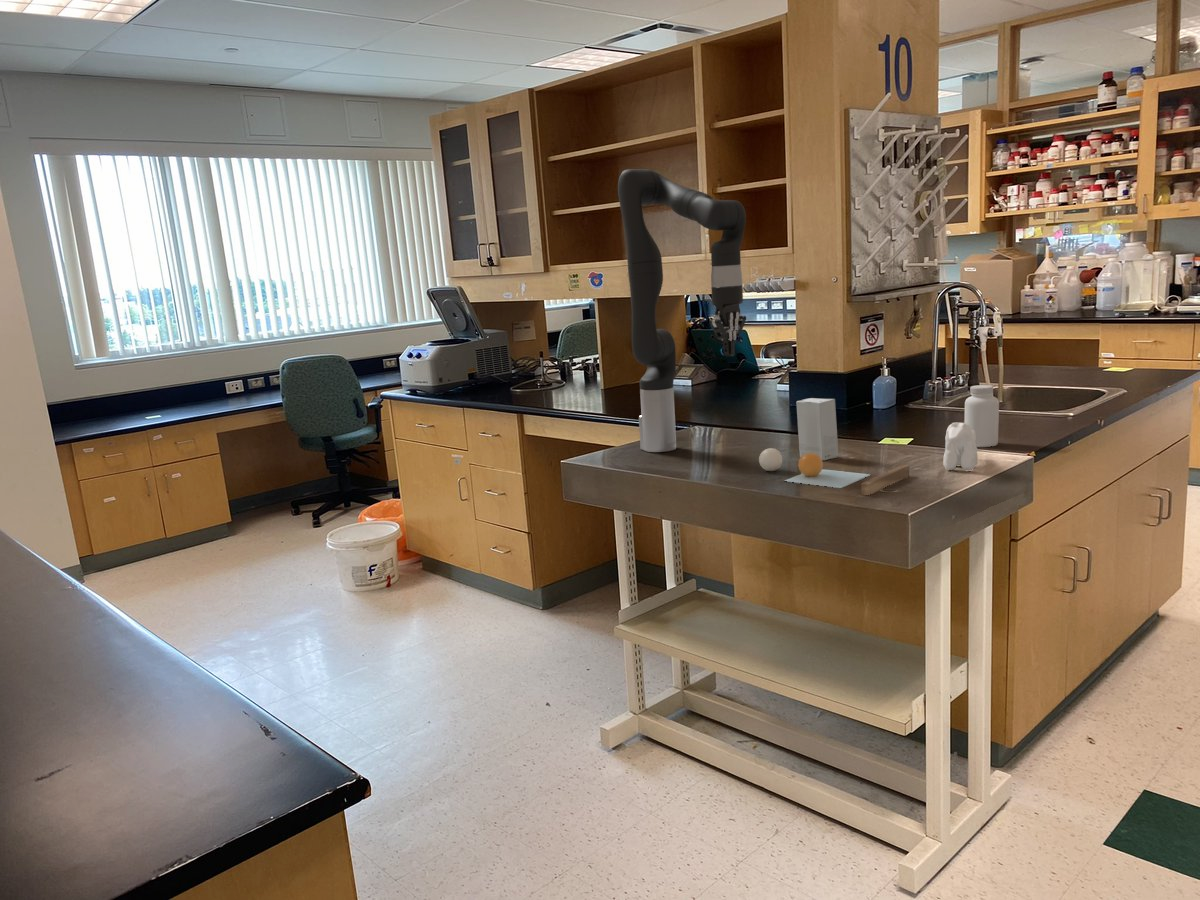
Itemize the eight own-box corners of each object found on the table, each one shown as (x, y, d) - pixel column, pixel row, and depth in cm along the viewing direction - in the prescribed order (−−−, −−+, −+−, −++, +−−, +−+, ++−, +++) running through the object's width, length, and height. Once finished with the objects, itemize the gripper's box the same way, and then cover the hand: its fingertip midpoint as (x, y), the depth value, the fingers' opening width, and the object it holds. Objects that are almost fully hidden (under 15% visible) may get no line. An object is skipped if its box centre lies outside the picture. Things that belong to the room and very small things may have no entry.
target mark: (784, 481, 197) (784, 480, 197) (815, 469, 207) (815, 468, 207) (840, 488, 188) (840, 487, 188) (870, 475, 198) (870, 474, 198)
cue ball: (772, 445, 205) (779, 467, 204) (782, 444, 209) (789, 466, 208) (752, 452, 208) (759, 474, 207) (762, 452, 212) (769, 473, 211)
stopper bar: (861, 495, 181) (861, 483, 181) (902, 475, 196) (902, 464, 195) (868, 495, 180) (868, 484, 180) (909, 476, 195) (909, 465, 194)
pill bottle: (964, 447, 220) (965, 388, 217) (964, 441, 227) (964, 384, 224) (998, 447, 217) (1000, 388, 214) (997, 441, 224) (998, 383, 221)
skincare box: (838, 457, 218) (838, 399, 215) (822, 461, 215) (821, 402, 212) (813, 453, 225) (812, 396, 222) (796, 457, 222) (795, 399, 219)
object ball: (800, 450, 198) (819, 464, 195) (812, 446, 202) (831, 459, 199) (790, 469, 201) (808, 483, 198) (802, 465, 204) (820, 478, 202)
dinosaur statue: (933, 474, 191) (935, 424, 190) (960, 462, 211) (961, 417, 210) (966, 476, 187) (968, 425, 186) (990, 464, 207) (992, 418, 206)
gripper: (729, 284, 219) (732, 353, 223) (698, 286, 210) (701, 358, 213) (754, 282, 214) (757, 353, 218) (723, 285, 205) (726, 359, 208)
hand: (729, 355), depth 215 cm, fingers closed
